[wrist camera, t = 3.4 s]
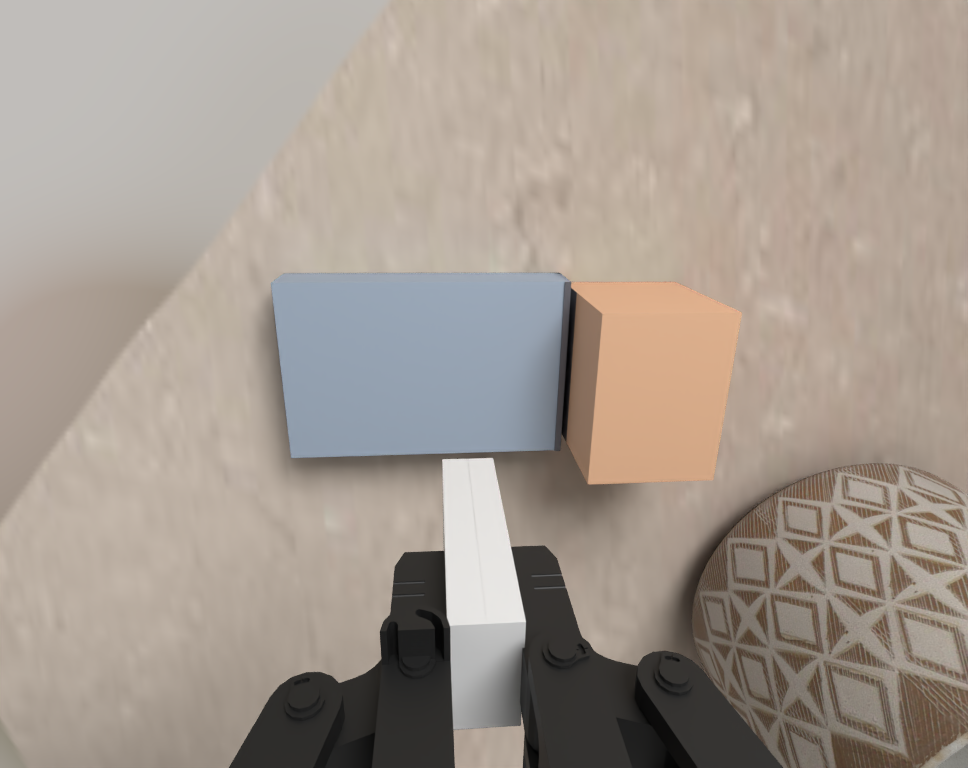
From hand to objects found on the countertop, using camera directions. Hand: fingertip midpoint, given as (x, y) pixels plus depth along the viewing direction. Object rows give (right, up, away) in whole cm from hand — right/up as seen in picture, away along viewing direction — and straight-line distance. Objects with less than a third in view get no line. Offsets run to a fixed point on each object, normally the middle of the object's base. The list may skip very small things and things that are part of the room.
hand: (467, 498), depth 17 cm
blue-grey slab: (-3, +5, +14) cm, 15 cm away
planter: (+23, -9, +22) cm, 33 cm away
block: (+8, +5, +15) cm, 17 cm away
